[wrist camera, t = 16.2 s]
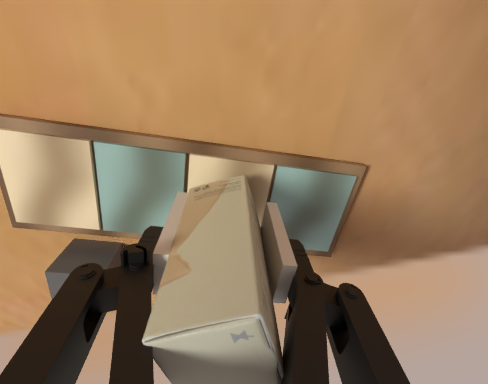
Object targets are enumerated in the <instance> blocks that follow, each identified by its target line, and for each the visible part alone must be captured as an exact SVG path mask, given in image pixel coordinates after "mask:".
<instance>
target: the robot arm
mask: <svg viewBox="0 0 488 384" xmlns="http://www.w3.org/2000/svg"><path fill="white" fill-rule="evenodd" d="M187 195H188V193H185V192H178V193H177V196H176V198H175V201H174V203H173V205H172V208H171V210H170V213H169V215H168V218H167V220H166V223H165V225H164V227H160V226H150V227H148V228H147V229H146V230H145V231H144V232H143V234H142V237H141V238H140V240H139V242H138V244H131V245H128V246H126V247H125V248H124V249H122V251H121V253H120V258H121V266H119V267H115V268H110V269H103V268H102V266H101V265H99V264H96V263H86V264H83V265H80V266H78V267H77V268H75V269H74V270H73V271H72V272H71V273H70V275H69V276H68V278H67V279H66V280H65V282H64V283H63V285H62V286H61V288H60V289H59V291H58V292H57V294H56V295H55V296H54V298H53V299H52V301H51V302H50V304H49V305H48V307H47V308H46V309H45V311H44V312H43V314H42V315H41V317H40V318H39V320H38V321H37V323H36V324H35V325H34V327H33V328H32V330H31V331H30V333H29V334H28V336H27V337H26V339H25V340H24V341H23V343H22V344H21V346H20V347H19V349H18V350H17V352H16V353H15V355H14V356H13V357H12V359H11V360H10V362H9V363H8V365H7V366H6V367H5V369H4V370H3V372H2V373H1V375H0V384H75V383H76V380H77V379H78V376H79V374H80V372H81V369H82V367H83V365H84V363H85V360H86V358H87V356H88V354H89V351H90V349H91V347H92V344H93V342H94V340H95V338H96V335H97V333H98V331H99V328H100V326H101V324H102V322H103V319H104V317H105V315H106V313H107V312H109V311H114V310H117V313H116V322H115V332H114V342H113V352H112V361H111V371H110V380H109V384H154V379H153V346H146V345H144V344H143V342H142V339H143V336H144V333H145V330H146V327H147V323H148V320H149V317H150V314H151V311H152V309H151V292H152V289H153V294H157V292H158V289H159V286H160V282H161V279H162V276H163V273H164V269H165V266H166V263H167V259H168V256H169V253H170V250H171V247H172V243H173V240H174V237H175V234H176V230H177V227H178V224H179V221H180V218H181V215H182V211H183V208H184V205H185V202H186V198H187ZM261 235H262V241H263V247H264V252H265V258H266V264H267V270H268V276H269V282H270V288H271V293H272V299H273V302H274V303H286V300H287V297H288V299H289V302H290V304H289V306H288V309H287V313H286V315H285V319H286V328H285V338H284V347H283V357H282V358H283V370H284V375H283V378H282V381H281V384H329V374H328V357H327V338H326V332H327V336H328V339H329V342H330V345H331V349H332V352H333V355H334V358H335V362H336V365H337V368H338V371H339V375H340V378H341V381H342V384H410V382H409V380H408V378H407V377H406V375H405V373H404V371H403V369H402V367H401V365H400V363H399V361H398V359H397V357H396V356H395V353H394V352H393V350H392V348H391V346H390V344H389V342H388V340H387V338H386V336H385V334H384V332H383V330H382V328H381V327H380V325H379V323H378V321H377V319H376V317H375V315H374V313H373V311H372V309H371V307H370V305H369V304H368V302H367V300H366V298H365V296H364V294H363V293H362V291H361V290H360V289H359V288H357V287H356V286H354V285H352V284H349V283H342V284H340V285H339V288H336V287H333V286H330V285H328V284H325V283H323V280H322V279H321V277H320V276H319V275H318V274H316V273H314V271H313V269H312V266H311V264H310V261H309V259H308V257H307V254H306V252H305V249H304V246H303V244H302V243H301V242H300V241H299V240H295V239H288V236H287V233H286V230H285V227H284V223H283V220H282V217H281V214H280V211H279V208H278V205H277V203H272V202H267V203H266V208H265V212H264V217H263V221H262V226H261Z"/></svg>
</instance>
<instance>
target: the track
mask: <svg viewBox="0 0 488 384" xmlns="http://www.w3.org/2000/svg"><path fill="white" fill-rule="evenodd" d="M366 167H367V166H365V165H364V164H361V163H354V162H347V161H340V160H332V159H325V158H318V157H311V156H303V155H296V154H289V153H282V152H274V151H267V150H260V149H253V148H245V147H238V146H231V145H224V144H217V143H209V142H202V141H195V140H188V139H180V138H173V137H166V136H159V135H151V134H144V133H137V132H130V131H122V130H115V129H108V128H101V127H93V126H86V125H79V124H72V123H64V122H57V121H50V120H43V119H36V118H28V117H21V116H14V115H7V114H0V186H1V190H2V193H3V196H4V200H5V203H6V206H7V210H8V213H9V216H10V219H11V223H12V226H13V227H15V228H26V229H36V230H47V231H58V232H68V233H79V234H90V235H101V236H111V237H122V238H133V239H140V238H141V237H142V234H143V232H144V231H145V230H146V229H147V228H148V227H150V226H160V227H164V225H165V223H166V220H167V218H168V215H169V213H170V210H171V208H172V205H173V203H174V201H175V198H176V196H177V193H178V192H185V193H188V192H189V189H190V188H193V187H197V186H200V185H204V184H208V183H211V182H215V181H219V180H224V179H228V178H232V177H237V176H242V175H245V176H246V177H247V181H248V184H249V187H250V190H251V194H252V197H253V201H254V204H255V208H256V212H257V216H258V220H259V224H260V229H261V226H262V221H263V217H264V212H265V208H266V203H267V202H272V203H277V205H278V208H279V211H280V214H281V217H282V220H283V223H284V227H285V230H286V233H287V236H288V239H295V240H299V241H300V242H301V243H302V244H303V246H304V249H305V252H306V254H307V255H316V256H326V257H331V255H332V253H333V250H334V248H335V245H336V243H337V240H338V238H339V235H340V233H341V230H342V228H343V225H344V223H345V220H346V218H347V215H348V213H349V210H350V207H351V205H352V202H353V200H354V197H355V195H356V192H357V190H358V187H359V185H360V182H361V180H362V177H363V175H364V172H365V170H366Z"/></svg>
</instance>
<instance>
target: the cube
mask: <svg viewBox="0 0 488 384" xmlns="http://www.w3.org/2000/svg"><path fill="white" fill-rule="evenodd" d="M122 249H123V245H122V243H118V242H107V241H96V240H85V239H73V241H72V242H71V243H70V244H69V245H68V246H67V247H66V248H65V250H64V251H63V252H62V253H61V254H60V255H59V256H58V257H57V259H56V260H55V261H54V262H53V263H52V264H51V265H50V266H49V268H48V269H47V270H46V271H45V275H46V278H47V282H48V286H49V290H50V294H51V298H52V299H53V298H54V296H55V295H56V294H57V292H58V291H59V289H60V288H61V286H62V285H63V283H64V282H65V280H66V279H67V278H68V276H69V275H70V273H71V272H72V271H73V270H74V269H75V268H77V267H78V266H80V265H83V264H86V263H96V264H99V265H101V266H102V268H103V269H110V268H115V267H119V266H121V258H120V253H121V251H122Z"/></svg>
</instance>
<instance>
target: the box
mask: <svg viewBox="0 0 488 384" xmlns="http://www.w3.org/2000/svg"><path fill="white" fill-rule="evenodd" d="M142 342H143V344H144V345H146V346H153V359H154V360H155V362H156V363H157V364H158V366H159V367H160V368H161V370H162V371H163V373H164V374H165V375H166V377H167V378H168V379H169V380H170V382H171V383H172V384H281V381H282V378H283V375H284V370H283V358H282V352H281V346H280V341H279V334H278V329H277V323H276V317H275V311H274V305H273V299H272V293H271V288H270V282H269V276H268V270H267V264H266V258H265V252H264V247H263V241H262V235H261V229H260V224H259V220H258V216H257V212H256V208H255V204H254V201H253V197H252V194H251V190H250V187H249V184H248V181H247V177H246V176H245V175H242V176H237V177H232V178H228V179H224V180H219V181H215V182H211V183H208V184H204V185H200V186H197V187H193V188H190V189H189V192H188V195H187V198H186V202H185V205H184V208H183V211H182V215H181V218H180V221H179V224H178V227H177V230H176V234H175V237H174V240H173V243H172V247H171V250H170V253H169V256H168V259H167V263H166V266H165V269H164V273H163V276H162V279H161V282H160V286H159V289H158V292H157V295H156V298H155V301H154V304H153V308H152V311H151V314H150V317H149V320H148V323H147V327H146V330H145V333H144V336H143V339H142Z"/></svg>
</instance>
